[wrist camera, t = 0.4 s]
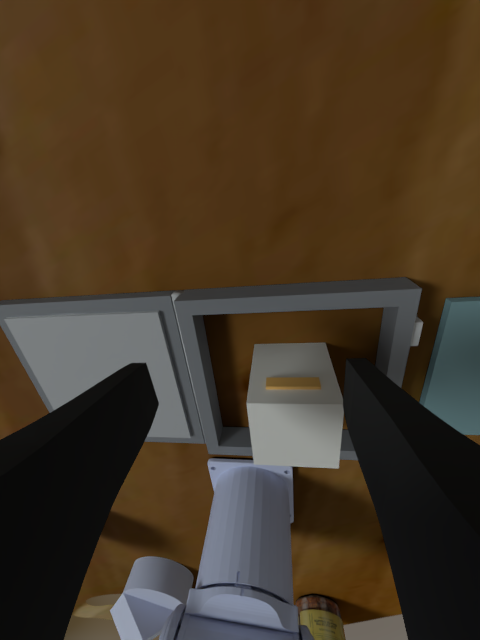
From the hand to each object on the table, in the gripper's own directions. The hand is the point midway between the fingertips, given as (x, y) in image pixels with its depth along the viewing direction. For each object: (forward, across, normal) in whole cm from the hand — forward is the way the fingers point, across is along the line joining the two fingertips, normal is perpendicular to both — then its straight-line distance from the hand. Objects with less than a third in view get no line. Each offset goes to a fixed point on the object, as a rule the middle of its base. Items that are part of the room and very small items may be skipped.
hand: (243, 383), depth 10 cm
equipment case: (+9, +5, +6) cm, 12 cm away
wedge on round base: (+10, +18, +44) cm, 49 cm away
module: (+9, -2, +6) cm, 11 cm away
